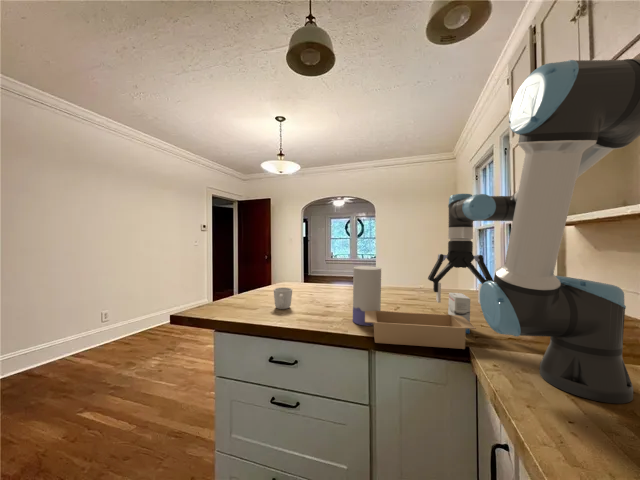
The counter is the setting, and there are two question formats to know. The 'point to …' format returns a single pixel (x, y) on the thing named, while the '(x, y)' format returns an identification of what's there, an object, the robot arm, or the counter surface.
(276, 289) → the cup
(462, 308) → the ink box
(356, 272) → the container
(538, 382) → the counter surface
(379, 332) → the carton
